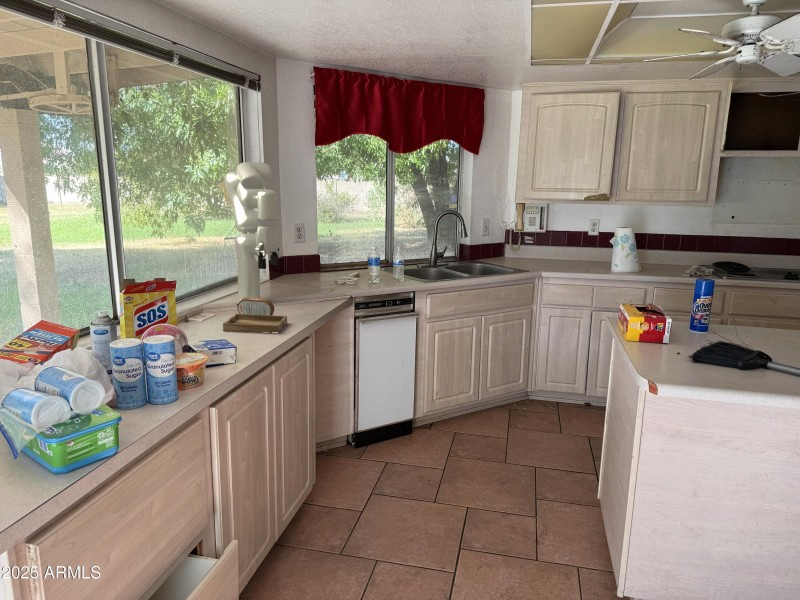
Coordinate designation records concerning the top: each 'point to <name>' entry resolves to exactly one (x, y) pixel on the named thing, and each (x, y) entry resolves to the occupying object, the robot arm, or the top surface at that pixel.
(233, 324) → the walnut tray
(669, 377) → the top surface
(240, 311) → the tin
